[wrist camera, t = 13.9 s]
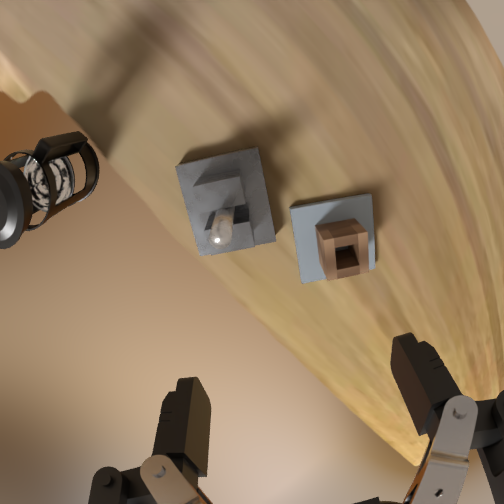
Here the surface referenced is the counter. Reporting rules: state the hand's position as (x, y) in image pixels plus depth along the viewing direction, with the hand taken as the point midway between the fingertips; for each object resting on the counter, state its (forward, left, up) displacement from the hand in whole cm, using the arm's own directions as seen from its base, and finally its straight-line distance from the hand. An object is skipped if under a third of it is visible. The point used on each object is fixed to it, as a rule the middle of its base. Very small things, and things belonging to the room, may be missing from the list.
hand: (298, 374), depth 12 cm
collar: (+8, +9, -29) cm, 32 cm away
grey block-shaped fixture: (0, -4, -30) cm, 31 cm away
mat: (+8, +9, -30) cm, 32 cm away
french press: (-10, -24, -30) cm, 40 cm away
